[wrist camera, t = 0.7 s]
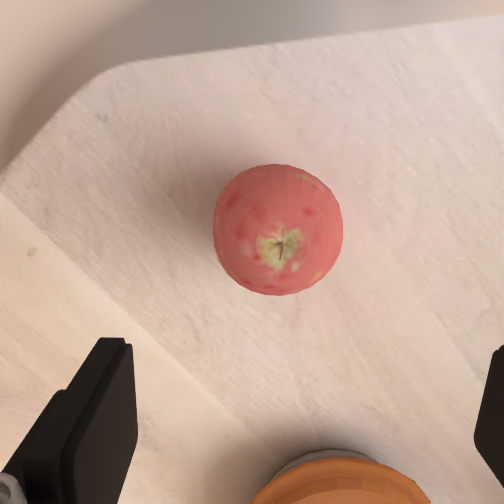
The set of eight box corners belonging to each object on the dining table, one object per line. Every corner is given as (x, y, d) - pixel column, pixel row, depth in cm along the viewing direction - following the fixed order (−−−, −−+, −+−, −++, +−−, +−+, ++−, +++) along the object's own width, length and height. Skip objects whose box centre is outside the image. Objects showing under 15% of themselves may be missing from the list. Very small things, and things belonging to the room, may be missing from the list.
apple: (321, 268, 29) (347, 323, 22) (216, 262, 29) (205, 316, 22) (334, 160, 27) (369, 180, 19) (220, 153, 27) (209, 170, 19)
